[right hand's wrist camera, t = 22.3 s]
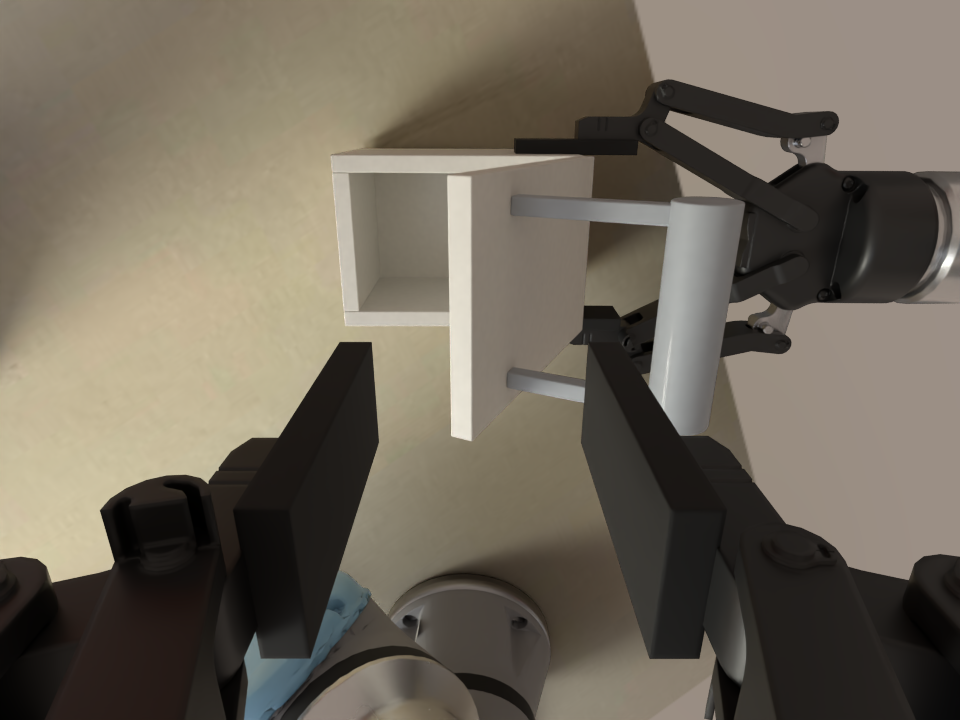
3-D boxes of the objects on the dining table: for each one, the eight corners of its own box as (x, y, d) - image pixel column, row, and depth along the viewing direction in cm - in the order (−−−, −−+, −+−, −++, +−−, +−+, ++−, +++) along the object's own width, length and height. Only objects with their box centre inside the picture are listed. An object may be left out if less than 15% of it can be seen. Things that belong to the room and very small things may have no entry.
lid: (450, 436, 22) (692, 495, 18) (446, 174, 18) (743, 186, 15) (567, 328, 34) (727, 351, 30) (577, 155, 30) (760, 160, 27)
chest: (370, 286, 42) (344, 326, 34) (361, 148, 39) (330, 154, 30) (553, 286, 42) (573, 326, 34) (560, 149, 39) (584, 155, 30)
